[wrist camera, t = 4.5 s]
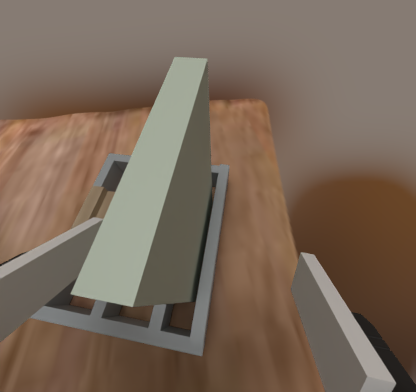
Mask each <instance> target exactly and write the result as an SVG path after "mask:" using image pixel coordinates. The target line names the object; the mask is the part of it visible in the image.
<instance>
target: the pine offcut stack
mask: <svg viewBox="0 0 416 392" xmlns="http://www.w3.org/2000/svg"><path fill="white" fill-rule="evenodd" d="M114 194H115V192H111V191H107V190H106V189H105V188H104V187H100V186H92V188H91V190H90V192H89V194H88V196H87V198H86V200H85V202H84V204H83V206H82V208H81V210H80V212H79V214H78V216H77V218H76V220H75V222H74V224H73V225H72V227H71V229H72V228H74V227H76V226H78V225H80V224H82V223H84V222H86V221H87V220H89V219H91V218H93V217H95V218H101V219H104V217H105V215H106V212H107V210H108V208H109V205H110V203H111V201H112V199H113V196H114Z"/></svg>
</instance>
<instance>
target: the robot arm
mask: <svg viewBox="0 0 416 392" xmlns="http://www.w3.org/2000/svg"><path fill="white" fill-rule="evenodd" d="M102 221H103V219H101V218H95V217H93V218H91V219H89V220H87V221H86V222H84V223H82V224H80V225H78V226H76V227H74V228H72V229H70V230H69V231H67V232H65V233H63V234H61V235H59V236H57V237H55V238H53V239H51V240H50V241H48V242H46V243H44V244H42V245H40V246H38V247H36V248H34V249H33V250H31V251H28V252H25V253H22V254H19V255H18V256H16V257H14V258H12V259H10V260H9V261H6V262H4V263H2V264H0V342H1V341H3V340H4V339H5V338H6V337H7V336H8V335H10V334H11V333H12V332H13V331H14V330H16V329H17V328H18V327H19V326H20V325H22V324H23V323H24V322H25V321H26V320H27V319H29V318H30V317H31V316H32V315H33V314H35V313H36V312H37V311H38V310H39V309H40V308H42V307H43V306H44V305H45V304H46V303H48V302H49V301H50V300H51V299H52V298H54V297H55V296H56V295H57V294H58V293H59V292H61V291H62V290H63V289H64V288H65V287H67V286H68V285H69V284H70V283H71V282H72V281H74V280H75V279H76V278H77V277H78V276H79V274H80V271H81V269H82V267H83V265H84V262H85V260H86V258H87V255H88V253H89V251H90V249H91V246H92V244H93V242H94V240H95V237H96V235H97V233H98V230H99V228H100V226H101V224H102ZM291 291H292V294H293V297H294V300H295V303H296V306H297V309H298V312H299V315H300V318H301V321H302V324H303V327H304V330H305V333H306V336H307V339H308V342H309V345H310V348H311V351H312V354H313V357H314V360H315V363H316V366H317V369H318V372H319V375H320V377H321V380H322V383H323V386H324V389H325V392H416V385H415V383H414V382H413V380H412V379H411V378H410V376H409V375H408V373H407V372H406V371H405V369H404V368H403V366H402V365H401V364H400V362H399V361H398V359H397V358H396V357H395V355H394V354H393V353H392V351H390V348H389V347H388V345H387V344H386V343H385V341H384V340H382V337H381V336H380V334H379V333H378V332H377V330H376V329H375V327H374V326H373V325H372V324H371V323H370V322H369V321H368V320H367V319H366V318H364V317H363V316H362V315H361V314H358V313H353V312H350V310H349V309H348V307H347V306H346V304H345V302H344V301H343V299H342V298H341V296H340V295H339V293H338V291H337V290H336V288H335V287H334V285H333V284H332V282H331V281H330V279H329V278H328V276H327V274H326V273H325V271H324V270H323V268H322V266H321V265H320V263H319V262H318V260H317V259H316V257H315V256H314V255H313V254H307V253H301V254H300V257H299V261H298V264H297V268H296V272H295V275H294V279H293V283H292V286H291Z"/></svg>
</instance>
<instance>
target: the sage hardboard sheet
mask: <svg viewBox="0 0 416 392" xmlns="http://www.w3.org/2000/svg"><path fill="white" fill-rule="evenodd" d="M207 61H208V60H207V59H202V58H184V57H175V58H174V60H173V62H172V65H171V67H170V69H169V72H168V74H167V76H166V78H165V81H164V83H163V85H162V88H161V90H160V92H159V94H158V96H157V99H156V101H155V104H154V106H153V108H152V110H151V112H150V115H149V117H148V119H147V121H146V124H145V126H144V128H143V131H142V133H141V135H140V137H139V140H138V142H137V144H136V146H135V149H134V151H133V153H132V156H131V158H130V160H129V162H128V165H127V167H126V169H125V171H124V174H123V176H122V178H121V181H120V183H119V185H118V187H117V190H116V192H115V194H114V196H113V199H112V201H111V203H110V205H109V208H108V210H107V212H106V215H105V217H104V219H103V221H102V224H101V226H100V228H99V230H98V233H97V235H96V237H95V240H94V242H93V244H92V246H91V249H90V251H89V253H88V255H87V258H86V260H85V262H84V265H83V267H82V269H81V271H80V274H79V276H78V278H77V280H76V283H75V285H74V287H73V290H72V292H71V294H72V295H76V296H81V297H86V298H91V299H96V300H101V301H106V302H111V303H116V304H120V305H125V306H130V307H138V306H150V305H161V304H173V303H184V302H195V301H196V296H197V290H198V285H199V279H200V273H201V267H202V262H203V256H204V250H205V244H206V239H207V233H208V227H209V222H210V216H211V210H212V204H213V202H212V173H211V145H210V116H209V89H208V88H209V87H208V62H207Z"/></svg>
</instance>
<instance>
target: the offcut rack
mask: <svg viewBox="0 0 416 392" xmlns="http://www.w3.org/2000/svg"><path fill="white" fill-rule="evenodd" d="M130 158H131V156H129V155H120V154H111V153H109V155H108V157H107V159H106V161H105V163H104V165H103V167H102V169H101V171H100V173H99V175H98V177H97V179H96V181H95V183H94V185H93V186H100V187H104V188H105V189H106V190H107V191H111V192H116V190H117V187H118V185H119V183H120V181H121V178H122V176H123V174H124V171H125V169H126V167H127V165H128V162H129V160H130ZM211 173H212V187H216V190H215V196H214V201H213V207H212V213H211V219H210V225H209V230H208V236H207V242H206V248H205V253H204V259H203V265H202V271H201V276H200V282H199V288H198V294H197V299H196V305H195V311H194V317H193V322H192V328H191V330H186V329H181V328H177V327H172V326H169V324H170V319H171V314H172V310H173V305H174V303H173V304H161V305H154V308H153V312H152V315H151V319H150V322H148V321H144V320H139V319H134V318H129V317H125V316H120V315H119V313H120V310H121V307H122V305H120V304H116V303H111V302H106V301H101V300H96V301H95V304H94V306H93V309H92V310H91V309H87V308H82V307H77V306H72V305H69V304H70V302H71V299H72V297H73V295H72V294H71V292H72V290H73V287H74V285H75V283H76V280H77V278H78V277H77V278H76V279H75V280H74V281H72V282H71V283H70V284H69V285H68V286H67V287H65V288H64V289H63V290H62V291H61V292H59V293H58V294H57V295H56V296H55V297H54V298H52V299H51V300H50V301H49V302H48V303H46V304H45V305H44V306H43V307H42V308H40V309H39V310H38V311H37V312H36V313H35V314H33V315H32V316H31V317H30V318H33V319H38V320H42V321H47V322H51V323H56V324H60V325H65V326H69V327H74V328H78V329H82V330H87V331H91V332H96V333H100V334H105V335H109V336H114V337H118V338H123V339H127V340H131V341H136V342H140V343H145V344H149V345H154V346H158V347H163V348H167V349H172V350H176V351H181V352H185V353H189V354H194V355H198V356H202V354H203V350H204V346H205V339H206V332H207V325H208V318H209V311H210V304H211V297H212V290H213V283H214V276H215V269H216V262H217V255H218V248H219V241H220V234H221V227H222V220H223V213H224V206H225V199H226V192H227V185H228V176H229V165H222V164H220V166H216V165H211Z"/></svg>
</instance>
